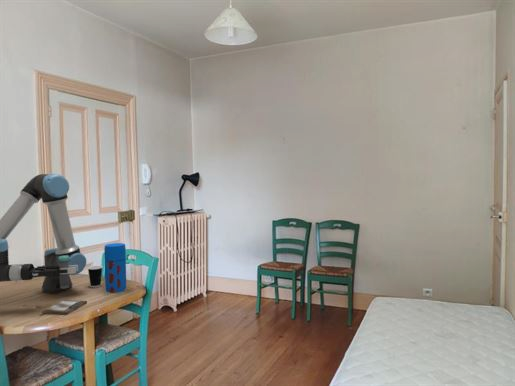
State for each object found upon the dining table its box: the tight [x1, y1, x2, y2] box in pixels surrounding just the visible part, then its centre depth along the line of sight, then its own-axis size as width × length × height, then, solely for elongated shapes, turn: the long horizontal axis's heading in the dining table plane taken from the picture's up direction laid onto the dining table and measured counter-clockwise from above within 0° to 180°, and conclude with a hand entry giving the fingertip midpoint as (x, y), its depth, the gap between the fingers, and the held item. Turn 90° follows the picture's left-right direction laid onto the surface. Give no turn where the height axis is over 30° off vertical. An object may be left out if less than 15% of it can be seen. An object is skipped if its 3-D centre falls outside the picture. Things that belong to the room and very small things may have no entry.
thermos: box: [103, 242, 127, 294], centre depth 211 cm, size 11×11×25 cm
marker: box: [58, 255, 70, 289], centre depth 182 cm, size 4×4×15 cm
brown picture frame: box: [41, 299, 88, 316], centre depth 182 cm, size 16×12×2 cm
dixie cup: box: [87, 265, 103, 289], centre depth 218 cm, size 8×8×11 cm
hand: (76, 269), depth 183 cm, fingers closed on marker, 4 cm apart
